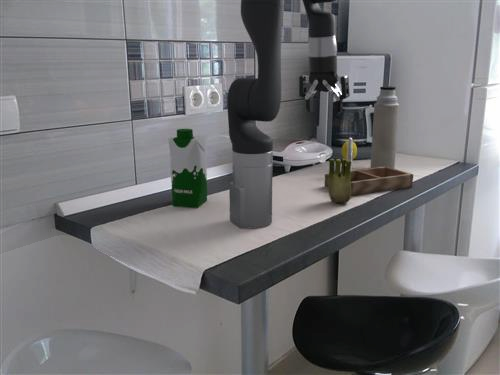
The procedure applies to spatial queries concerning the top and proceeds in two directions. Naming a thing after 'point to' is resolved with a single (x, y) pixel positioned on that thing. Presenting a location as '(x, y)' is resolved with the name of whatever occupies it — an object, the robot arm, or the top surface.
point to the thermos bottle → (385, 129)
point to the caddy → (377, 180)
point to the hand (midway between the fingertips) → (324, 112)
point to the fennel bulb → (339, 181)
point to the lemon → (344, 150)
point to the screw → (350, 151)
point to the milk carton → (188, 168)
